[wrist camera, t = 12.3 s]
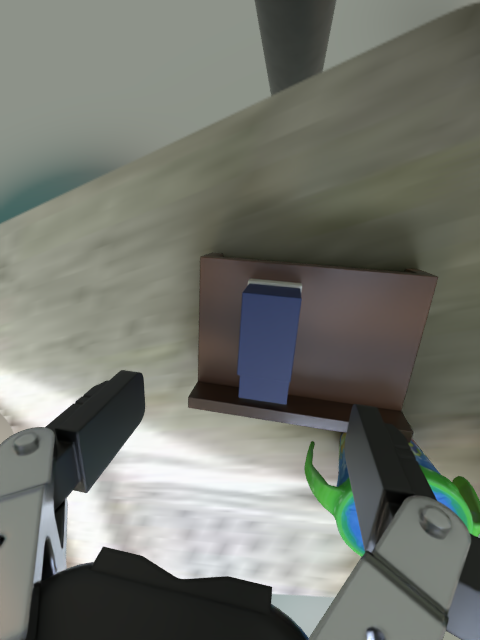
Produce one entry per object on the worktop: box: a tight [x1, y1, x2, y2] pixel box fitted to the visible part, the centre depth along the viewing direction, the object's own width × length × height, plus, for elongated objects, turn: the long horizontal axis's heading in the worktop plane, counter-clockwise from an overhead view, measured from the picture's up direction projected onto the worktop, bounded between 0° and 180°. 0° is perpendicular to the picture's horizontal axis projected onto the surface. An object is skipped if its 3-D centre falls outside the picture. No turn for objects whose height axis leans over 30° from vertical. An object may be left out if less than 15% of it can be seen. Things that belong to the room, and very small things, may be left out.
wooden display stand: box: [188, 253, 438, 443], centre depth 28 cm, size 14×20×7 cm
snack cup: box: [305, 433, 480, 557], centre depth 29 cm, size 16×10×10 cm
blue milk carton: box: [237, 279, 302, 405], centre depth 26 cm, size 11×5×5 cm, turn 176°
